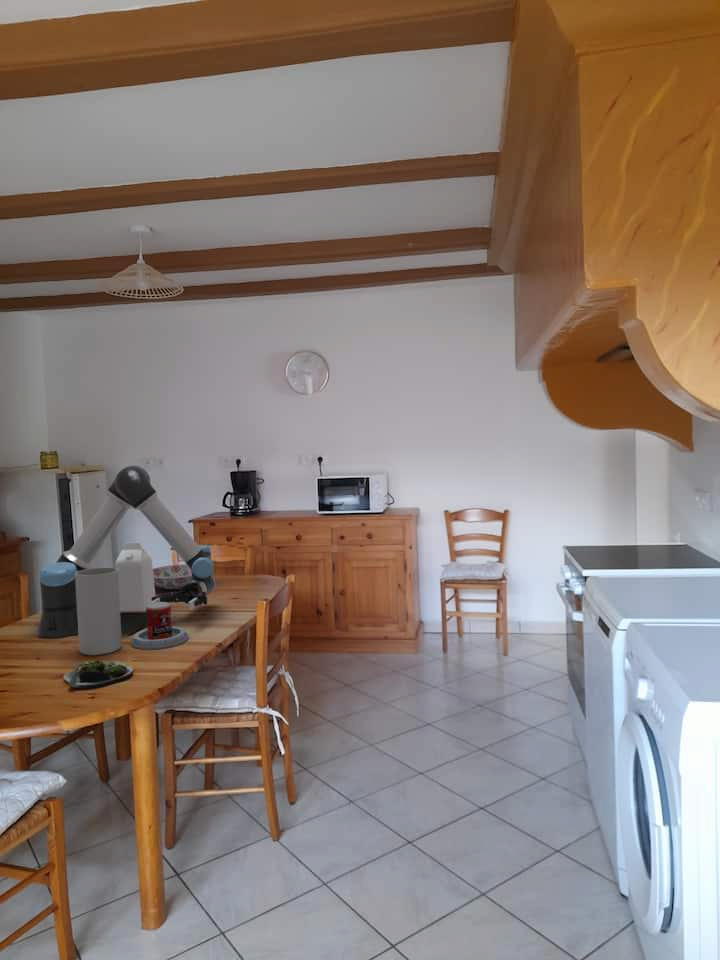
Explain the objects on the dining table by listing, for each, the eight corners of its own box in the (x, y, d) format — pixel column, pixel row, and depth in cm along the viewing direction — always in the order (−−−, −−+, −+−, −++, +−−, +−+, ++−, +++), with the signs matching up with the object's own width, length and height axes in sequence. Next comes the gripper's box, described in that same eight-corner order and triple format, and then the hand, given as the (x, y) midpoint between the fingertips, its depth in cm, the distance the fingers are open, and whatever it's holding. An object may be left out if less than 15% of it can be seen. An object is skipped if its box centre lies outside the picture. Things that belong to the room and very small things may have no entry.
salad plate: (49, 678, 187) (48, 662, 187) (112, 662, 199) (111, 646, 199) (74, 696, 173) (73, 678, 172) (140, 677, 185) (139, 661, 185)
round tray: (146, 653, 205) (146, 645, 205) (121, 642, 218) (121, 634, 218) (198, 640, 217) (198, 632, 217) (172, 629, 230) (171, 622, 230)
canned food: (153, 643, 212) (151, 609, 211) (143, 637, 218) (142, 604, 218) (176, 638, 217) (174, 604, 216) (166, 633, 223) (164, 600, 222)
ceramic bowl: (158, 599, 277) (157, 580, 277) (135, 588, 301) (134, 570, 300) (223, 588, 295) (222, 570, 294) (196, 578, 318) (196, 561, 318)
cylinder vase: (128, 643, 216) (123, 567, 215) (112, 655, 204) (108, 574, 202) (89, 644, 217) (85, 568, 215) (72, 656, 204) (67, 576, 203)
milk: (156, 603, 269) (153, 540, 268) (144, 611, 258) (140, 544, 256) (127, 604, 270) (124, 540, 269) (114, 611, 259) (111, 545, 257)
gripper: (226, 601, 247) (206, 617, 225) (161, 602, 249) (136, 617, 228) (225, 581, 246) (205, 595, 225) (160, 582, 249) (134, 595, 228)
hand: (170, 606), depth 227 cm, fingers open, 13 cm apart
